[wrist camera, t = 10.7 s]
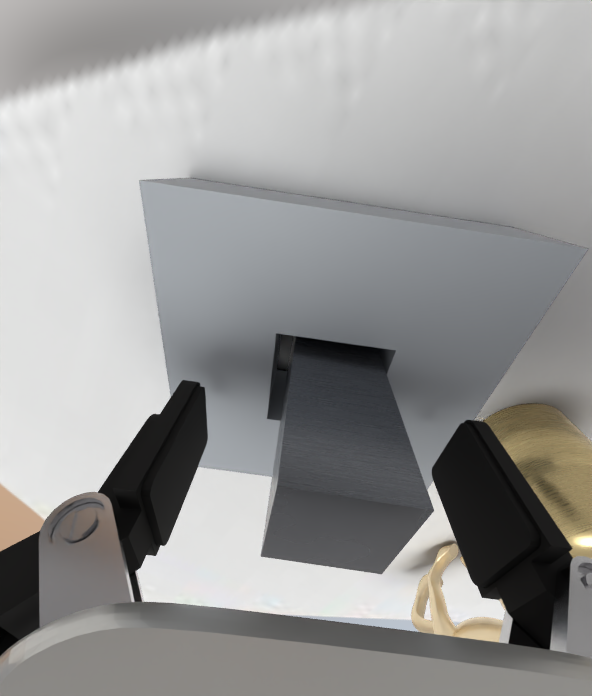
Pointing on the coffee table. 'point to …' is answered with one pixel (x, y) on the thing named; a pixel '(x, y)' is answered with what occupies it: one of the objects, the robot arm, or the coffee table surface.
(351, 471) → the square bit
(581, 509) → the round bit
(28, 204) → the coffee table surface
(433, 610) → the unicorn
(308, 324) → the socket block
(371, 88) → the coffee table surface
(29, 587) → the robot arm
